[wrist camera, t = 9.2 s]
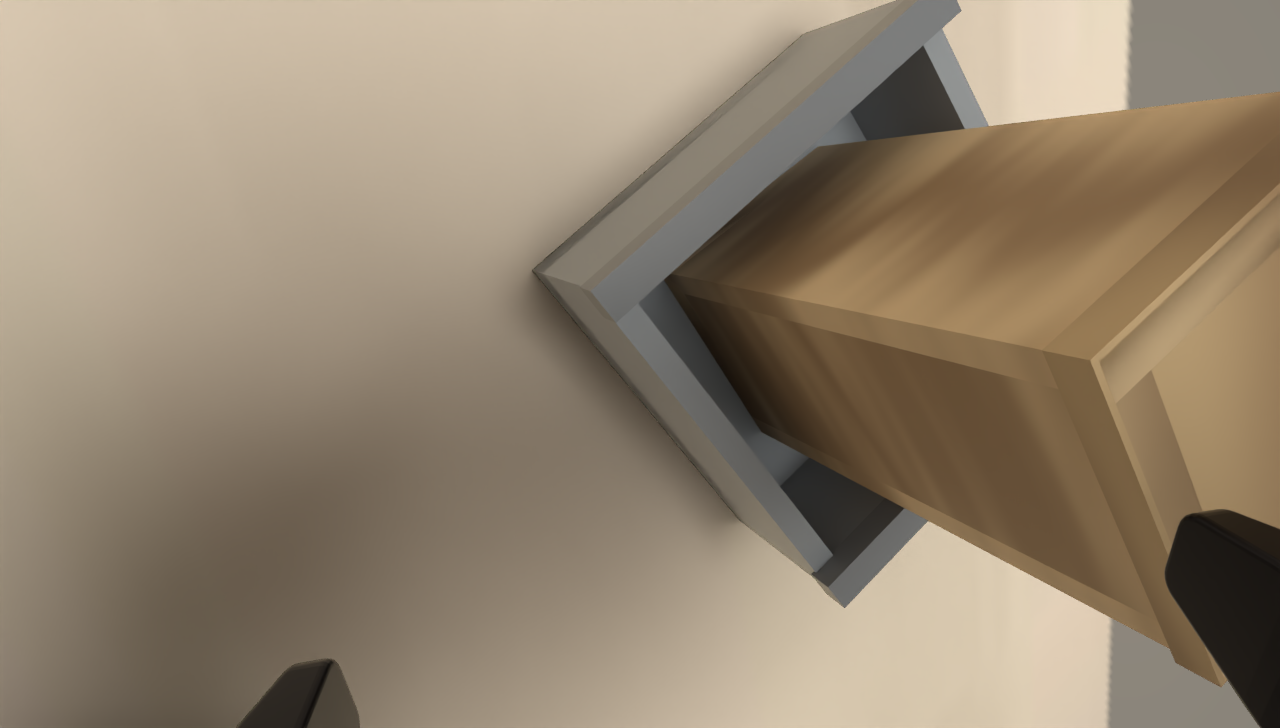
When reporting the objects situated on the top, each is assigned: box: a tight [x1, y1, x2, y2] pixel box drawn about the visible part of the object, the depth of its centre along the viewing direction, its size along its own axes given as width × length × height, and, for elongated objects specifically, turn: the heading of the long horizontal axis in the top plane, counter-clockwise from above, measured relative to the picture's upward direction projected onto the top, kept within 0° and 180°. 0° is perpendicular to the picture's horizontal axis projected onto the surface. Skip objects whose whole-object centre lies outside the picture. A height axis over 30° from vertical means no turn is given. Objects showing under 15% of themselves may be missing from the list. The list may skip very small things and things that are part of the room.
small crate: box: [664, 92, 1280, 687], centre depth 15 cm, size 6×6×12 cm
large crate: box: [533, 0, 989, 608], centre depth 19 cm, size 10×10×5 cm
